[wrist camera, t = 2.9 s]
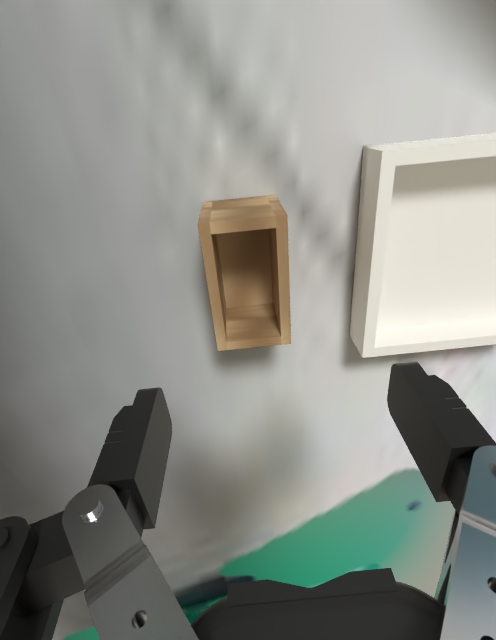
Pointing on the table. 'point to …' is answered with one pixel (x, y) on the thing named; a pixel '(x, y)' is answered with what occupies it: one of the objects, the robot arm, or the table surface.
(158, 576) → the robot arm
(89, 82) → the table surface
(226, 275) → the small crate
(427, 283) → the large crate
